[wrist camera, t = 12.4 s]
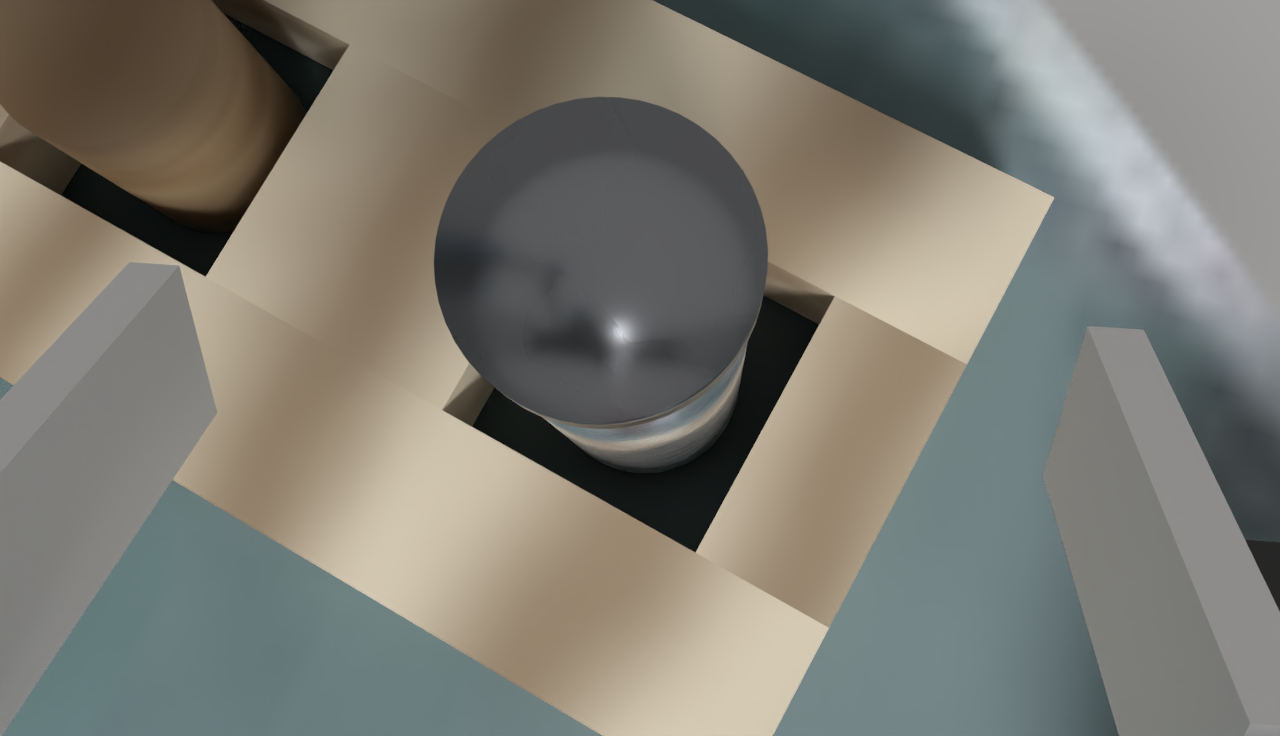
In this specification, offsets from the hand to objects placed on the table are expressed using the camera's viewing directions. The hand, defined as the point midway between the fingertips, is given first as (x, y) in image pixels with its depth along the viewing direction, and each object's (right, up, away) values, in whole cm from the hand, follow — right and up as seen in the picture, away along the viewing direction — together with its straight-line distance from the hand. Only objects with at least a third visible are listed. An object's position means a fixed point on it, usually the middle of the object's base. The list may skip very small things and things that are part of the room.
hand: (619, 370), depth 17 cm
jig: (-5, +3, +10) cm, 12 cm away
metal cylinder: (0, 0, +10) cm, 10 cm away
